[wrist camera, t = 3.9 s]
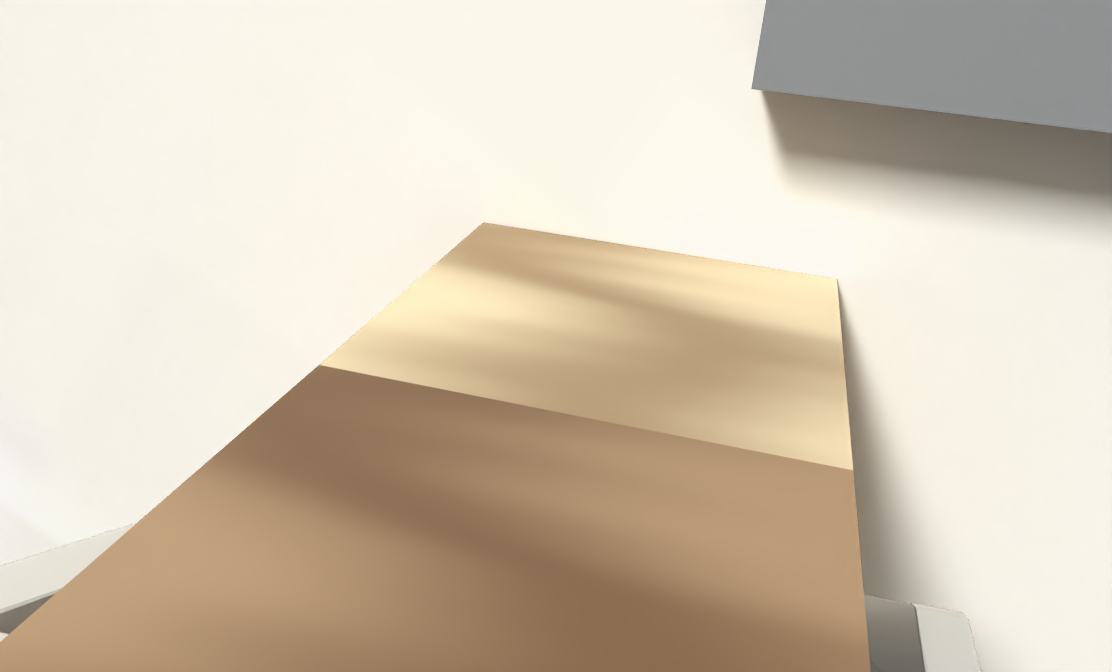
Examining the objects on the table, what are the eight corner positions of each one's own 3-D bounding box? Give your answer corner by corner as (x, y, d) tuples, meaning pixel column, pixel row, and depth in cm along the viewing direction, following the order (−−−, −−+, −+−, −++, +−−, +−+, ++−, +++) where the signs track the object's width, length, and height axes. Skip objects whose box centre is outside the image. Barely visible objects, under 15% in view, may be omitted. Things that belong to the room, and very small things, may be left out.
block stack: (468, 508, 15) (-3, 1294, 6) (483, 222, 13) (-179, 797, 4) (769, 575, 14) (708, 1607, 5) (837, 278, 12) (913, 1162, 3)
